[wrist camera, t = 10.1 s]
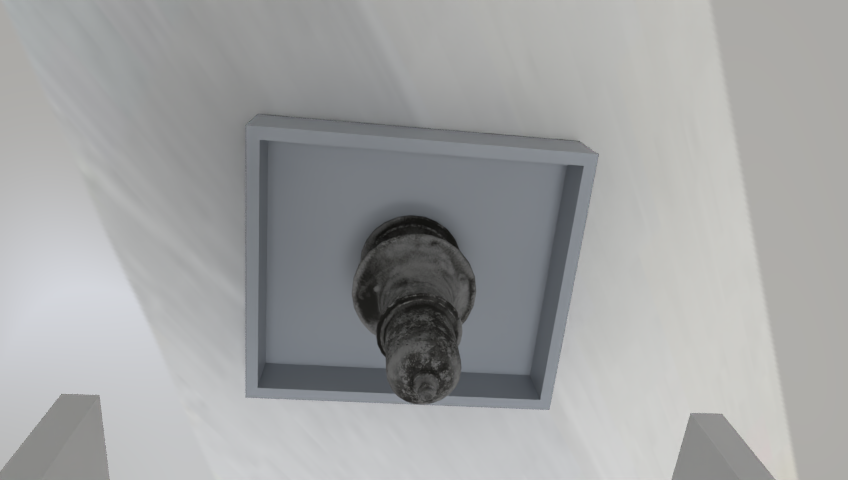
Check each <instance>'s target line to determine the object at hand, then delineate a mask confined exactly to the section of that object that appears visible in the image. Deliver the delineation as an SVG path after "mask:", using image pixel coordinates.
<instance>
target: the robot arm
mask: <svg viewBox="0 0 848 480" xmlns="http://www.w3.org/2000/svg"><path fill="white" fill-rule="evenodd" d="M0 480H110V479H109V471H108V464H107V454H106V446H105V438H104V430H103V422H102V413H101V405H100V397H99V395H78V394H61V395H60V397H59V398H58V399H57V401H56V402H55V403H54V404H53V405H52V407H51V408H50V409H49V411H48V412H47V413H46V415H45V416H44V417H43V418H42V419H41V421H40V422H39V423H38V425H37V426H36V427H35V428H34V430H33V431H32V432H31V433H30V435H29V436H28V437H27V438H26V440H25V441H24V443H22V445H21V446H20V447H19V449H18V450H17V451H16V453H15V454H14V455H13V456H12V458H11V459H10V460H9V461H8V463H7V464H6V465H5V466H4V468H3V469H2V470H1V472H0ZM672 480H775V479H774V477H773V476H772V475H771V474H770V472H769V471H768V470H767V469H766V467H765V466H764V465H763V464H762V463H761V461H760V460H759V459H758V458H757V456H756V455H755V454H754V453H753V451H752V450H751V449H750V448H749V447H748V445H747V444H746V443H745V442H744V440H743V439H742V438H741V437H740V435H739V434H738V433H737V432H736V430H735V429H734V428H733V427H732V426H731V424H730V423H729V422H728V421H727V419H726V418H725V417H724V416H723V414H707V413H690V417H689V420H688V424H687V427H686V431H685V435H684V438H683V442H682V445H681V449H680V452H679V456H678V459H677V463H676V466H675V470H674V473H673V477H672Z"/></svg>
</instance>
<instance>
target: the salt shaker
mask: <svg viewBox="0 0 848 480" xmlns="http://www.w3.org/2000/svg"><path fill="white" fill-rule="evenodd" d="M475 297H476V282H475V275H474V273H473V270H472V268H471V266H470V263H469V261H468V260H467V259H466V258H465V256H464V255H463V254H462V253H461V251H460V249H459V247H458V245H457V242H456V240H455V238H454V237H453V236H452V234H451V233H450V232H449V231H448V229H447V228H445V227H444V226H442V225H441V224H440V223H438V222H437V221H434V220H432V219H429V218H427V217H423V216H414V215H408V216H401V217H396V218H394V219H391V220H389V221H386V222H384V223H383V224H382V225H380V226H379V227H378V228H376V229H375V230H374V231H373V232H372V234H371V235H370V236H369V237H368V239H367V240H366V242H365V244H364V247H363V249H362V252H361V260H360V264H359V266H358V268H357V271H356V273H355V275H354V278H353V286H352V299H353V304H354V309H355V311H356V313H357V315H358V317H359V319H360V321H361V322H362V323H363V325H364V326H365V327H366V328H367V329H368V330H369V331H370V332H371V333H372V334H374V335H375V336H376V339H377V345H378V347H379V349H380V351H381V353H382V354H383V355H384V356H385V357H386V375H387V380H388V382H389V384H390V387H391V389H392V391H393V392H394V393H395V394H396V395H397V396H398V397H399V398H401V399H403V400H404V401H406V402H409V403H413V404H422V405H425V404H431V403H434V402H437V401H440V400H442V399H443V398H445V397H446V396H448V395H449V394H450V393H451V392H452V391H453V390H454V389H455V387H456V385H457V384H458V382H459V379H460V374H461V368H462V367H461V359H460V354H459V350H458V346H459V344H460V342H461V337H462V332H463V331H462V324H463V323H464V322H465V321H466V320H467V318H468V316H469V314H470V312H471V310H472V308H473V306H474V302H475Z"/></svg>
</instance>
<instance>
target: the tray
mask: <svg viewBox="0 0 848 480" xmlns="http://www.w3.org/2000/svg"><path fill="white" fill-rule="evenodd" d="M598 156H599V154H598V153H596V152H595V151H593V150H592V149H590V148H589V147H587V146H586V145H584V144H583V143H581V142H580V141H570V140H558V139H546V138H534V137H522V136H510V135H499V134H487V133H475V132H463V131H451V130H439V129H427V128H416V127H404V126H392V125H380V124H368V123H356V122H344V121H332V120H321V119H309V118H297V117H285V116H273V115H261V114H257V115H256V116H255V117H254V118H253V119H252V120H251V121H250V122H249V123H248V124H246V398H271V399H295V400H320V401H344V402H369V403H393V404H413V403H409V402H406V401H404V400H403V399H401V398H399V397H398V396H397V395H396V394H395V393H394V392H393V391H392V389H391V387H390V384H389V382H388V380H387V375H386V357H385V356H384V355H383V354H382V353H381V351H380V349H379V347H378V345H377V339H376V336H375V335H374V334H372V333H371V332H370V331H369V330H368V329H367V328H366V327H365V326H364V325H363V323H362V322H361V321H360V319H359V317H358V315H357V313H356V311H355V309H354V304H353V299H352V286H353V278H354V275H355V273H356V271H357V268H358V266H359V264H360V260H361V252H362V249H363V247H364V244H365V242H366V240H367V239H368V237H369V236H370V235H371V234H372V232H373V231H374V230H375V229H376V228H378V227H379V226H380V225H382V224H383V223H384V222H386V221H389V220H391V219H394V218H396V217H401V216H408V215H414V216H423V217H427V218H429V219H432V220H434V221H437V222H438V223H440V224H441V225H442V226H444V227H445V228H447V229H448V231H449V232H450V233H451V234H452V236H453V237H454V238H455V240H456V242H457V245H458V247H459V249H460V251H461V253H462V254H463V255H464V256H465V258H466V259H467V260H468V261H469V263H470V266H471V268H472V270H473V273H474V275H475V282H476V297H475V302H474V306H473V308H472V310H471V312H470V314H469V316H468V318H467V320H466V321H465V322H464V323H463V324H462V331H463V332H462V337H461V342H460V344H459V346H458V350H459V354H460V359H461V367H462V368H461V374H460V379H459V382H458V384H457V385H456V387H455V389H454V390H453V391H452V392H451V393H450V394H449V395H448V396H446V397H445V398H443V399H442V400H440V401H437V402H434V403H431V404H425V405H442V406H467V407H491V408H516V409H540V410H549V409H550V404H551V399H552V393H553V388H554V383H555V378H556V373H557V368H558V362H559V357H560V352H561V347H562V342H563V337H564V331H565V326H566V321H567V316H568V311H569V306H570V300H571V295H572V290H573V285H574V280H575V275H576V269H577V264H578V259H579V254H580V249H581V244H582V239H583V233H584V228H585V223H586V218H587V213H588V208H589V202H590V197H591V192H592V187H593V182H594V177H595V171H596V166H597V161H598ZM418 405H422V404H418Z"/></svg>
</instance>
